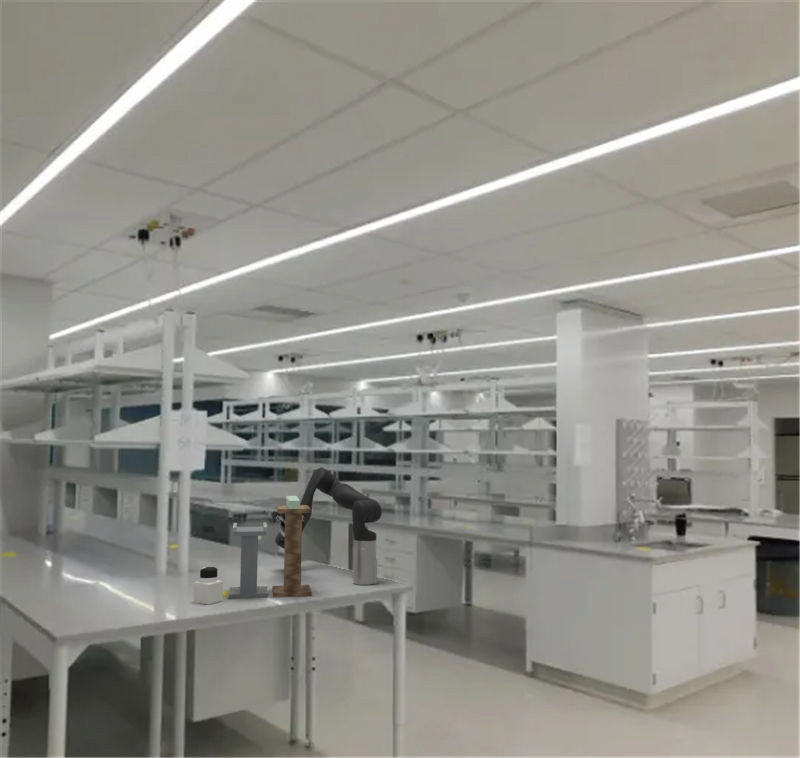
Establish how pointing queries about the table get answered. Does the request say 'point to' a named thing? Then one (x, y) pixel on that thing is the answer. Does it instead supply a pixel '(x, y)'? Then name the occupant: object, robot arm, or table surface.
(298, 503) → the slide box
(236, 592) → the gray pedestal stand
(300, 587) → the brown pedestal stand
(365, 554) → the robot arm
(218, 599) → the medicine bottle
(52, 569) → the table surface
